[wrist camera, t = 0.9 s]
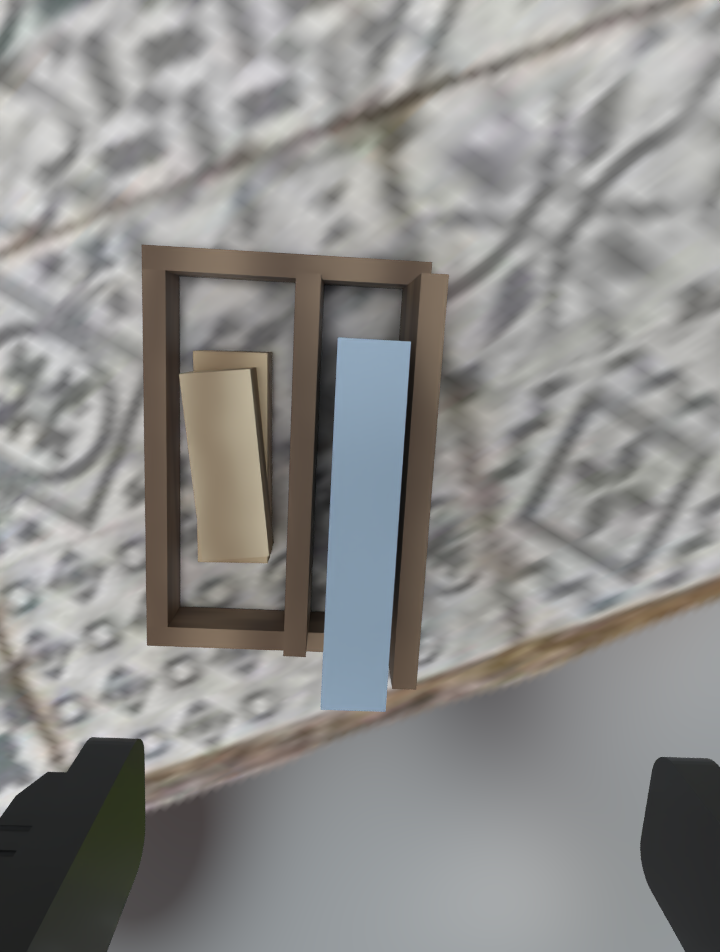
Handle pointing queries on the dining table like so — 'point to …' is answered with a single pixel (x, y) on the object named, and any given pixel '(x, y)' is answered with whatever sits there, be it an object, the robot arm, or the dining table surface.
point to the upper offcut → (227, 463)
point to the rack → (162, 447)
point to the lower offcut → (263, 365)
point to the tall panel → (363, 521)
